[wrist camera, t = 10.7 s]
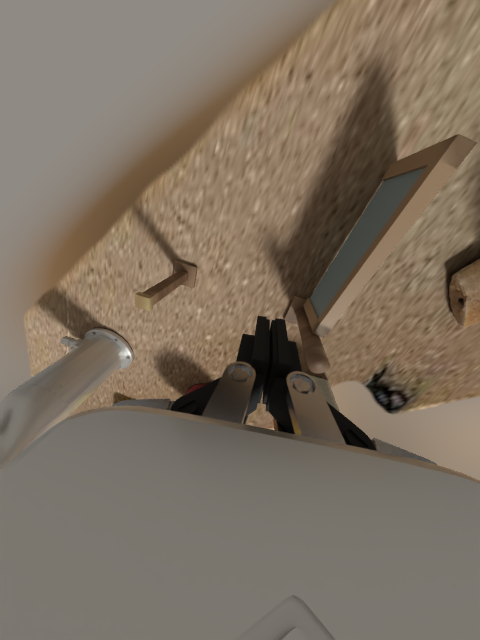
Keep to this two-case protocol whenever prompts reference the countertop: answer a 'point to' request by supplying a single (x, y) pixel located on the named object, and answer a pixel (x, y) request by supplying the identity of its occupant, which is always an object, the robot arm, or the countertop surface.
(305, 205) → the countertop surface
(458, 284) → the stone cup
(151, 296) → the gate frame
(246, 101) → the countertop surface
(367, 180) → the countertop surface
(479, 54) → the countertop surface
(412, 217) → the panel
